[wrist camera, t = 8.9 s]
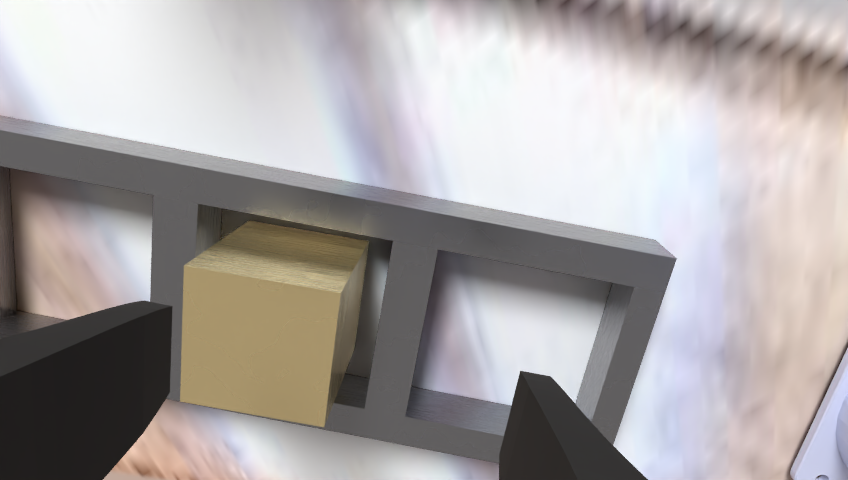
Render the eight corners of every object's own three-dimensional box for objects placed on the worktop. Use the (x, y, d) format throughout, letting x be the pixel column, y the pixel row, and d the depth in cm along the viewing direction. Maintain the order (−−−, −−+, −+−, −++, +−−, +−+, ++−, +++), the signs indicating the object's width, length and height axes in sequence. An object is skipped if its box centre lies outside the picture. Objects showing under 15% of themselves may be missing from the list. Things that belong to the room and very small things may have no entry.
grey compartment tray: (655, 240, 19) (676, 258, 17) (587, 446, 22) (600, 482, 20) (-22, 111, 19) (-74, 115, 18) (-6, 332, 22) (-50, 356, 20)
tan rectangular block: (369, 240, 20) (340, 293, 15) (355, 348, 21) (324, 427, 17) (249, 219, 20) (183, 265, 15) (242, 328, 22) (180, 401, 17)
